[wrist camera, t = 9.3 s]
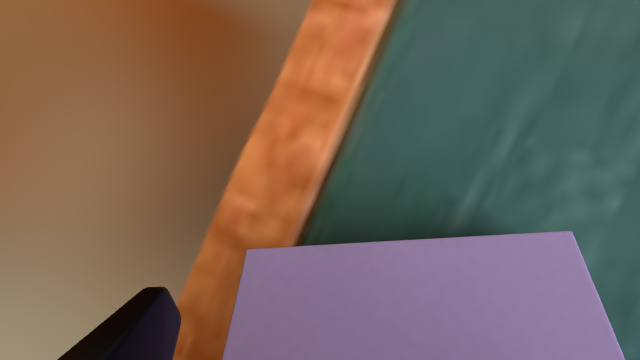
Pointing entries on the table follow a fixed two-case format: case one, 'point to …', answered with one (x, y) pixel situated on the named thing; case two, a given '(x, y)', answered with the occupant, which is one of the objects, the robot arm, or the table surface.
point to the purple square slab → (421, 301)
